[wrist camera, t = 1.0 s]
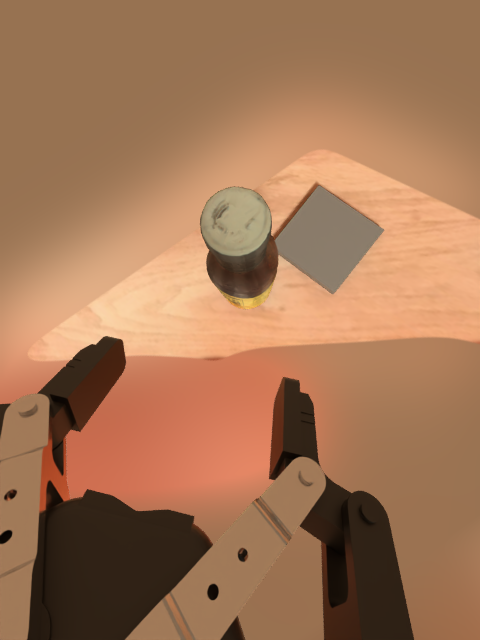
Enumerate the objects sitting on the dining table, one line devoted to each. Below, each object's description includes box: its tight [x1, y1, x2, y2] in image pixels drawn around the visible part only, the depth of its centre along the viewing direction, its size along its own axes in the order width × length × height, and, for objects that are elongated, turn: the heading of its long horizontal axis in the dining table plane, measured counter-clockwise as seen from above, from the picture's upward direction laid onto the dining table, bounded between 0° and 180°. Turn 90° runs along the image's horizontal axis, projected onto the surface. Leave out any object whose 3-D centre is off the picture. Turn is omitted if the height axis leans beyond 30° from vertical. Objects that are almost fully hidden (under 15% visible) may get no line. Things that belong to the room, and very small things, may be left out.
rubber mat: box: [275, 185, 384, 294], centre depth 33 cm, size 10×10×1 cm
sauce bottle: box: [200, 187, 278, 309], centre depth 24 cm, size 6×6×20 cm
